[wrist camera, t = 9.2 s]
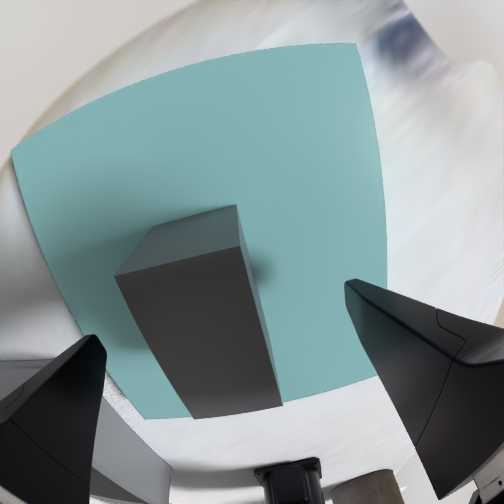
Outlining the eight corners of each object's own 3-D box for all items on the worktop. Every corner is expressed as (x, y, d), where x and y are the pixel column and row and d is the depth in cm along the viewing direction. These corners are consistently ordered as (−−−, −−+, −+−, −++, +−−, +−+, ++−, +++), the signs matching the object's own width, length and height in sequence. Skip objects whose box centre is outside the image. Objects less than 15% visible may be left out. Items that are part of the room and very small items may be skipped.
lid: (367, 350, 16) (407, 425, 11) (150, 394, 17) (134, 471, 11) (336, 56, 10) (413, 9, 4) (37, 145, 10) (-54, 165, 4)
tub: (171, 467, 21) (168, 508, 16) (70, 457, 21) (61, 488, 17) (74, 358, 15) (45, 415, 10) (-19, 360, 15) (-43, 394, 10)
